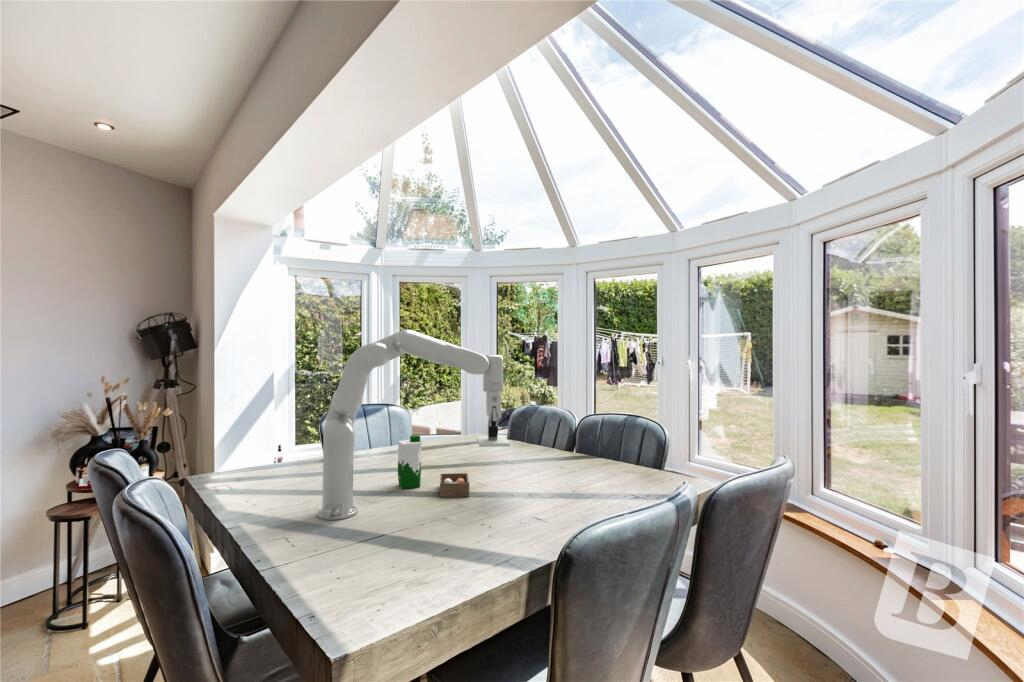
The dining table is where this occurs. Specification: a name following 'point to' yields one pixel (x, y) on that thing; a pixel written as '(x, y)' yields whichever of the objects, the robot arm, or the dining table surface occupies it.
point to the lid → (492, 440)
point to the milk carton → (409, 462)
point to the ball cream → (447, 481)
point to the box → (454, 485)
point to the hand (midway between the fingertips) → (492, 435)
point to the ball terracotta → (460, 480)
